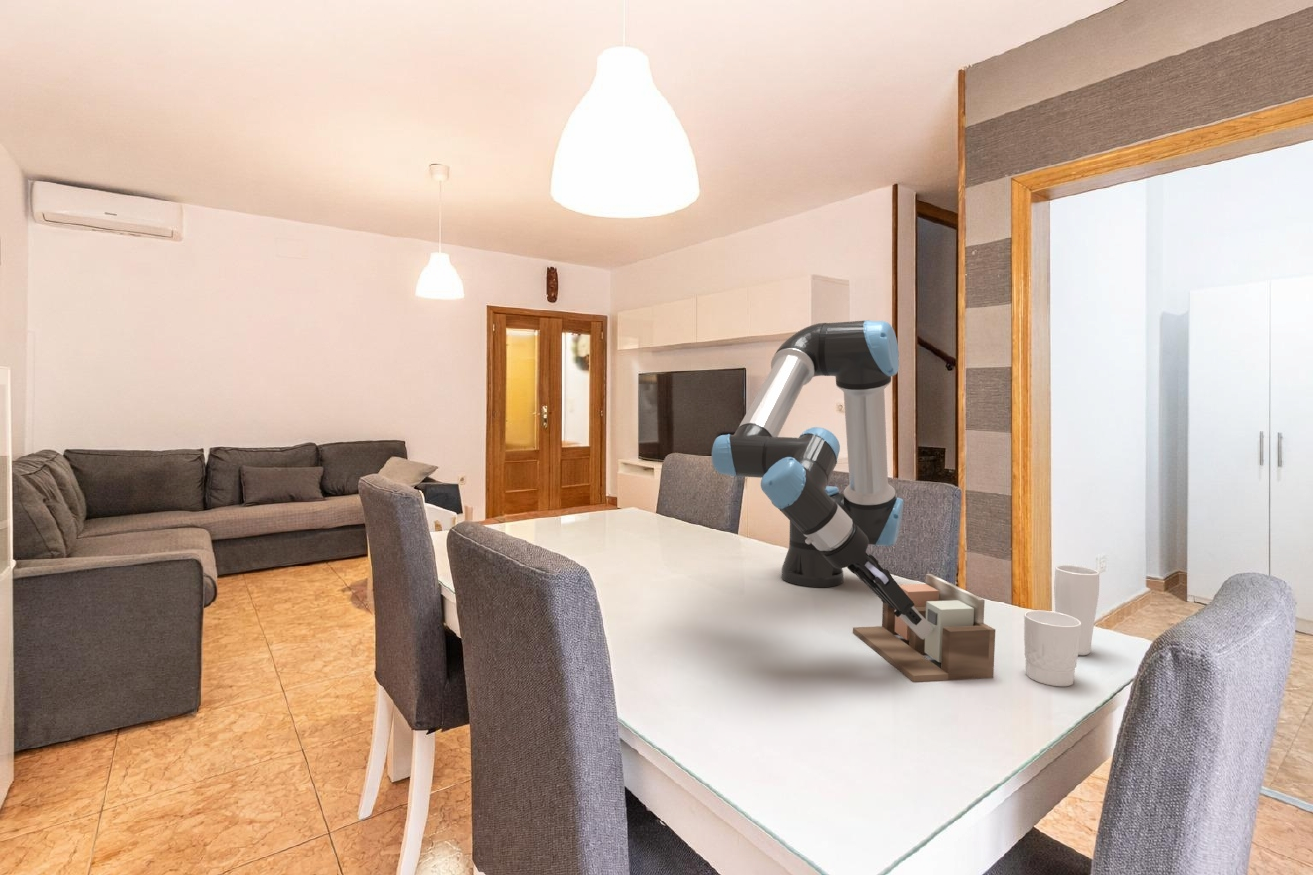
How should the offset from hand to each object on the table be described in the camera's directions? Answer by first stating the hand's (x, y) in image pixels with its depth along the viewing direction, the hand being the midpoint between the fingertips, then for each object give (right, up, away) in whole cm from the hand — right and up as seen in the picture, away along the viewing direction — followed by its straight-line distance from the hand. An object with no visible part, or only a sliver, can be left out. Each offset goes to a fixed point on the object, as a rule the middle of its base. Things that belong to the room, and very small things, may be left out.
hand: (926, 632), depth 110 cm
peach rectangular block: (+2, -4, +11) cm, 12 cm away
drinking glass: (+30, -6, +8) cm, 31 cm away
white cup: (+18, -6, -4) cm, 20 cm away
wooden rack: (0, -5, +5) cm, 8 cm away
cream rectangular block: (+4, -4, +1) cm, 6 cm away
